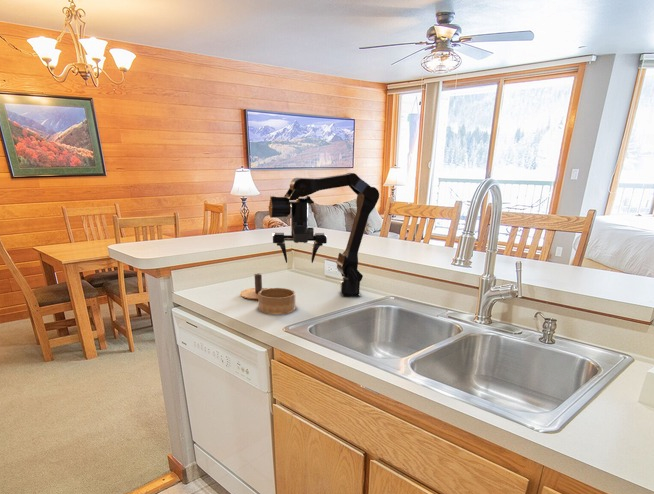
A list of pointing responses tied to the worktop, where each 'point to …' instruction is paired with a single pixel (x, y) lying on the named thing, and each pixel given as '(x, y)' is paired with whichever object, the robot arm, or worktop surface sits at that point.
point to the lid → (253, 292)
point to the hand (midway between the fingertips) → (299, 262)
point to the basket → (276, 300)
